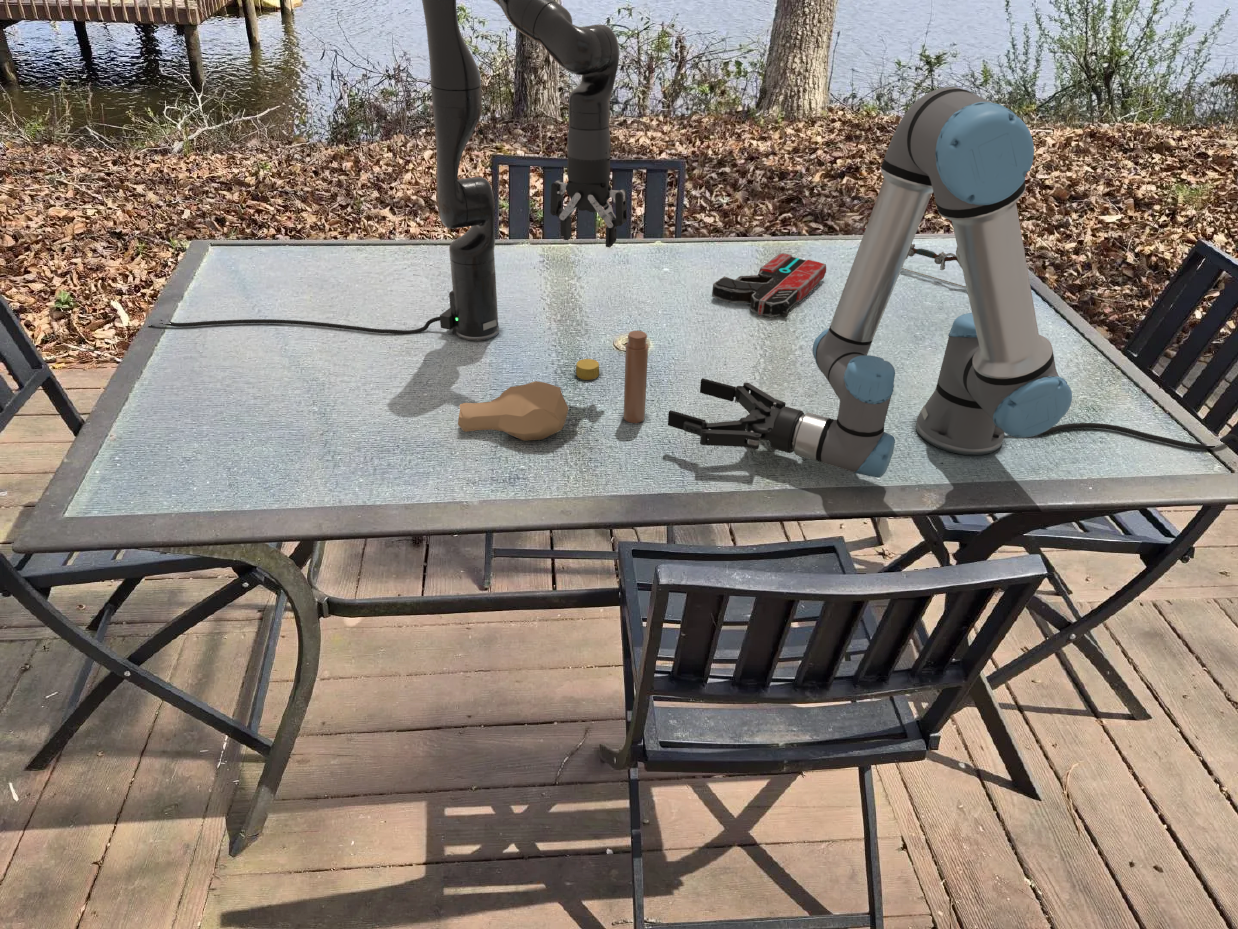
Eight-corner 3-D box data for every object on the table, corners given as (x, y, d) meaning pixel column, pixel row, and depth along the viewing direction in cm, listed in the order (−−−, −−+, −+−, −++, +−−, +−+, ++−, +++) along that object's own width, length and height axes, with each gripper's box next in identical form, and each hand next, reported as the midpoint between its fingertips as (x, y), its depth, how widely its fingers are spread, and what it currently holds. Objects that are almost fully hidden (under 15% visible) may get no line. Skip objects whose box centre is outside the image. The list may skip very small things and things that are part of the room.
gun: (708, 284, 207) (784, 305, 199) (760, 245, 229) (831, 262, 221) (706, 302, 209) (781, 323, 201) (758, 261, 231) (828, 278, 223)
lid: (600, 379, 176) (600, 368, 175) (577, 380, 175) (577, 369, 174) (598, 369, 180) (598, 358, 178) (575, 369, 179) (575, 359, 178)
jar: (641, 424, 162) (645, 340, 152) (621, 421, 163) (623, 337, 153) (647, 414, 165) (651, 331, 156) (626, 410, 166) (629, 328, 156)
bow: (994, 294, 218) (1005, 255, 212) (991, 296, 216) (1002, 257, 211) (857, 254, 239) (863, 218, 233) (853, 256, 238) (860, 219, 232)
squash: (570, 447, 155) (562, 408, 149) (459, 455, 156) (447, 417, 150) (573, 407, 163) (565, 369, 157) (467, 416, 164) (456, 378, 158)
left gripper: (542, 152, 153) (544, 242, 162) (618, 162, 148) (616, 255, 157) (561, 142, 158) (562, 230, 167) (634, 152, 154) (631, 242, 163)
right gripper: (770, 487, 142) (653, 451, 150) (818, 419, 160) (711, 390, 168) (776, 448, 137) (655, 413, 146) (824, 383, 156) (715, 355, 164)
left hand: (588, 242), depth 162 cm, fingers open, 8 cm apart
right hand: (685, 401), depth 157 cm, fingers open, 13 cm apart
